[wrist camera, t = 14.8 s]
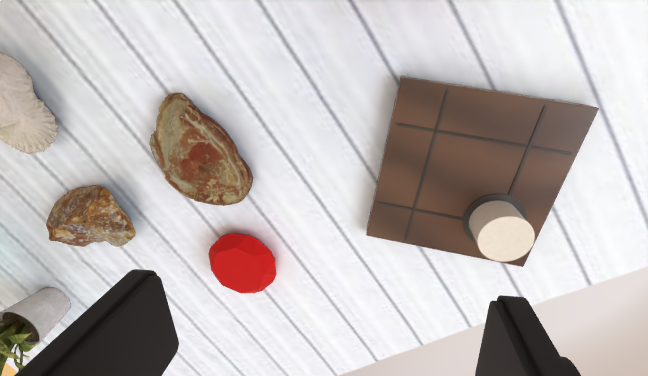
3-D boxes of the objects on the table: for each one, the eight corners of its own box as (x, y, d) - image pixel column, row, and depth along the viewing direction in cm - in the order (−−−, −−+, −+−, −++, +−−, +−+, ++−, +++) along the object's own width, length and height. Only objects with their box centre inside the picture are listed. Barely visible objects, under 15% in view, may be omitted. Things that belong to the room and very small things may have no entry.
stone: (144, 149, 41) (126, 157, 38) (178, 84, 37) (160, 87, 34) (232, 214, 42) (221, 227, 40) (273, 159, 38) (264, 169, 35)
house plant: (91, 349, 58) (-8, 453, 43) (18, 315, 57) (-108, 409, 43) (102, 295, 52) (-7, 394, 37) (21, 257, 51) (-123, 342, 37)
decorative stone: (136, 245, 40) (71, 272, 46) (160, 226, 44) (97, 253, 50) (82, 179, 37) (21, 218, 44) (113, 165, 41) (52, 202, 47)
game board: (400, 75, 33) (401, 77, 31) (589, 105, 31) (600, 108, 30) (366, 229, 40) (366, 236, 39) (518, 259, 39) (523, 267, 37)
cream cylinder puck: (477, 196, 35) (487, 211, 31) (528, 205, 34) (544, 222, 31) (462, 237, 37) (470, 256, 34) (510, 246, 36) (522, 266, 33)
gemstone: (276, 231, 42) (269, 244, 40) (280, 287, 46) (274, 302, 43) (210, 226, 44) (199, 238, 41) (219, 281, 47) (210, 295, 44)
